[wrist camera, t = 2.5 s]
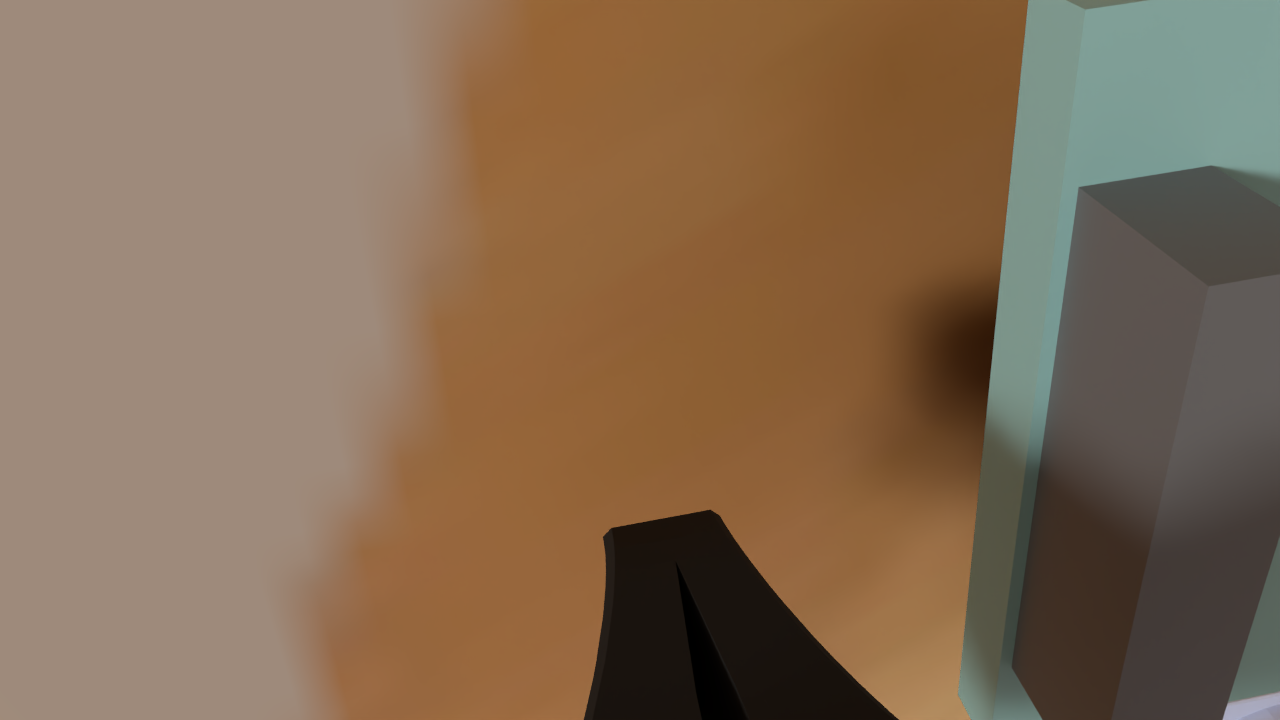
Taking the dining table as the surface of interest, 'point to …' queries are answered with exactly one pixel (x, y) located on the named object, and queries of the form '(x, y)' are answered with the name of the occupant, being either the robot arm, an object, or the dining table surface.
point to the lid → (1134, 372)
